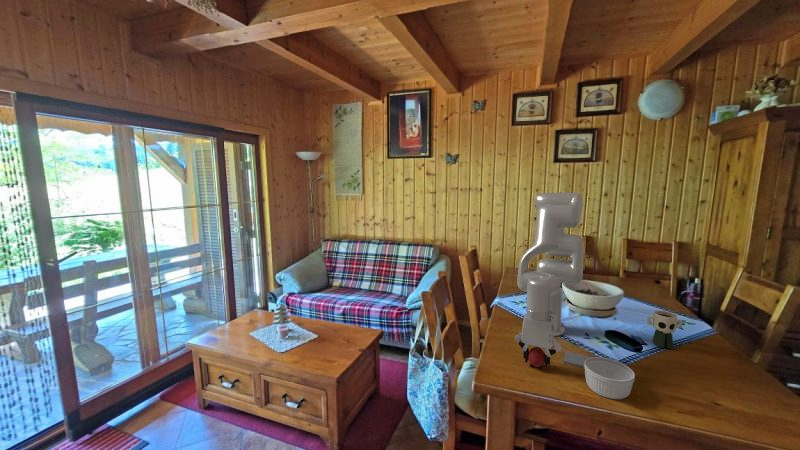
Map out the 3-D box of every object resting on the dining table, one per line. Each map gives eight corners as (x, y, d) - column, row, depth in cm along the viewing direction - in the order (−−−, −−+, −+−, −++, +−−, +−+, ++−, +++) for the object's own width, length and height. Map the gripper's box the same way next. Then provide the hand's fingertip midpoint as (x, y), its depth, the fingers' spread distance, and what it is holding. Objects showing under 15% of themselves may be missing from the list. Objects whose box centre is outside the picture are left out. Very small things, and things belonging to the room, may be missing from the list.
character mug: (648, 347, 125) (651, 315, 123) (642, 339, 131) (645, 308, 129) (683, 352, 120) (687, 319, 119) (676, 343, 127) (679, 312, 125)
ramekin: (628, 381, 104) (629, 361, 103) (638, 408, 92) (640, 385, 91) (581, 372, 110) (582, 353, 109) (585, 395, 98) (586, 374, 97)
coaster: (565, 352, 122) (565, 350, 122) (589, 358, 118) (590, 356, 118) (563, 363, 115) (563, 361, 115) (589, 369, 111) (589, 367, 111)
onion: (547, 372, 110) (548, 350, 109) (529, 370, 111) (530, 348, 110) (543, 362, 116) (544, 341, 115) (526, 361, 117) (527, 340, 116)
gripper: (567, 314, 110) (564, 364, 112) (514, 305, 119) (513, 352, 121) (565, 323, 103) (562, 375, 106) (509, 313, 112) (508, 361, 115)
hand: (536, 362), depth 113 cm, fingers closed on onion, 5 cm apart
